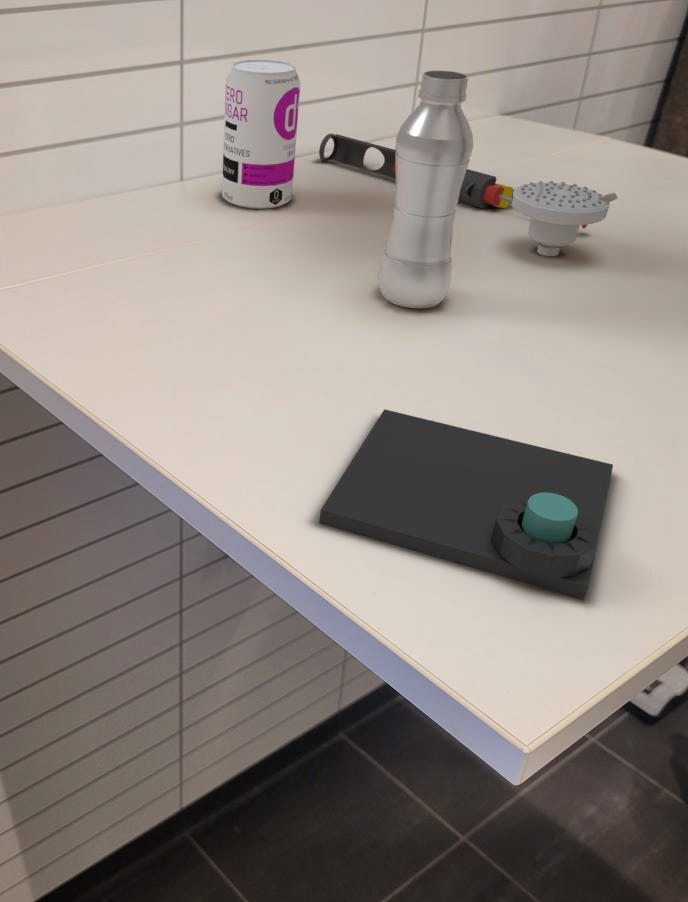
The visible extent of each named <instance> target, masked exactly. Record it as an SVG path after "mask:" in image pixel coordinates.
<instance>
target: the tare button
mask: <svg viewBox="0 0 688 902" xmlns="http://www.w3.org/2000/svg"><path fill="white" fill-rule="evenodd" d="M577 515H578V509H577V507H576V505H575V504H574V503H573V502H572V501H571V500H569V499H567V498H566V497H563V496H561V495H558V494H554V493H537V494H534V495H532V496H531V497H530V498H529V499H528V502H527V506H526V510H525V513H524V517H523V521H522V528H523V530H524V532H525V533H526V534H528V535H529V536H531V537H532V538H534V539H537V540H541V541H545V542H548V543H564V542H566V541H567V540H569V539H570V537H571V534H572V531H573V528H574V524H575V521H576V518H577Z"/></svg>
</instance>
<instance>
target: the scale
mask: <svg viewBox="0 0 688 902" xmlns="http://www.w3.org/2000/svg"><path fill="white" fill-rule="evenodd" d="M613 467H614V464H612V463H608V462H604V461H600V460H596V459H591V458H589V457H588V458H587V457H583V456H579V455H575V454H571V453H567V452H563V451H559V450H555V449H550V448H546V447H542V446H537V445H533V444H530V443H525V442H522V441H518V440H513V439H509V438H505V437H502V436H501V437H500V436H497V435H492V434H489V433H484V432H480V431H476V430H473V429H472V430H471V429H469V428H463V427H460V426H455V425H451V424H446V423H443V422H439V421H435V420H430V419H426V418H422V417H418V416H414V415H410V414H405V413H401V412H398V411H394V410H390V409H384V408H383V410H382V412H381V414H380V415H379V417H378V418H377V420H376V422H375V423H374V425H373V426H372V428H371V430H370V431H369V433H368V434H367V436H366V438H365V439H364V440H363V442H362V443H361V445H360V447H359V448H358V449H357V452H356V453H355V455H354V457H353V458H352V460H351V461H350V463H349V464H348V466H347V467H346V468H345V471H344V472H343V473H342V475H341V477H340V479H339V480H338V481H337V484H336V485H334V486H335V487H334V488H333V490H332V491H331V493H330V494H329V496H328V498H327V499H326V501H324V504H323V505H322V507H321V508H320V513H319V521H318V523H319V524H321V525H325V526H327V527H331V528H334V529H339V530H341V531H346V532H349V533H352V534H355V535H359V536H361V537H366V538H369V539H372V540H375V541H379V542H383V543H387V544H390V545H394V546H397V547H400V548H404V549H407V550H411V551H415V552H418V553H421V554H424V555H426V556H427V555H428V556H431V557H434V558H437V559H441V560H445V561H447V562H452V563H455V564H458V565H461V566H462V565H463V566H465V567H470V568H473V569H475V570H479V571H482V572H486V573H490V574H493V575H496V576H500V577H504V578H507V579H510V580H514V581H517V582H521V583H523V584H528V585H531V586H534V587H538V588H541V589H544V590H548V591H552V592H554V593H559V594H561V595H565V596H569V597H572V598H575V599H579V600H583V601H585V599H586V596H587V593H588V590H589V587H590V581H591V577H592V572H593V567H594V562H595V556H596V552H597V548H598V542H599V539H600V538H599V537H600V532H601V527H602V522H603V517H604V513H605V508H606V504H607V497H608V493H609V488H610V483H611V477H612V474H613ZM537 493H554V494H558V495H561V496H563V497H566V498H567V499H569V500H571V501H572V502H573V503H574V504H575V505H576V507H577V509H578V515H577V518H576V521H575V524H574V528H573V531H572V534H571V537H570V539H569V540H567V541H566V542H564V543H548V542H545V541H541V540H537V539H534V538H532V537H531V536H529V535H528V534H526V533H525V532H524V530H523V528H522V521H523V517H524V513H525V510H526V506H527V502H528V499H529V498H530V497H531V496H532V495H534V494H537Z"/></svg>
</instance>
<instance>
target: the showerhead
mask: <svg viewBox="0 0 688 902" xmlns="http://www.w3.org/2000/svg"><path fill="white" fill-rule="evenodd" d="M514 189H515V190H514V192H513V197H512V202H511V207H512V209H513V210H514V211H516V213H519V214H520V215H522V216H524V217H526V218H529V219H530V221H529V225H528V231H527V235H528V236H529V238H530V239H531V240H533V241H534V242H536V243H538V245H537V249H536V252H537V253H538V254H540V255H542V256H545V257H556V256H558V255H559V253H560V249H561V247H564V246H569V245H571V244H573V243H575V241H576V240H577V236H578V232H579V229H580V226H582V225H587V224H588V225H593V224H597V223H599V222H600V223H601V222H602V221H604V220H605V219H606V218H607V214H608V211H609V208H610V205H611V203H612V202H614V201H615V200H618V197H619V196H618V194H616V192H612V193H611V192H610V193H607V194H604V195H603V194H602V193H600V192H598V191H597V190H595V189H589V188H588V186H584V187H583V186H578V184H577V183H573V184H568V183H566V182H565V181H561V183H558V182H554V181H552V180H550V181H548V182H543V181H541V180H540V181H538V182H529V183H525V184H522V185H520V186H517V187H516V188H514ZM588 225H587V226H588Z"/></svg>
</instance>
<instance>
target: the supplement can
mask: <svg viewBox="0 0 688 902" xmlns="http://www.w3.org/2000/svg"><path fill="white" fill-rule="evenodd" d="M299 77H300V76H299V75H298V72H297V68H296V66H295V65H294V64H293V63H289V62H286V61H282V60H281V61H280V60H273V59H245V60H239V61H236V62H233V63H232V64H231V69H230V70H229V72H228V75H227V76H226V78H225V88H224V89H225V91H224V93H225V94H224V98H225V99H224V123H223V148H222V149H223V150H222V153H223V155H222V177H221V178H222V183H221V195H222V198H223V199H224V200H225V201H227V202H228V203H229V204H230V205H234V206H237V207H240V208H247V209H256V210H258V209H259V210H265V209H274V208H280V207H281V206H283V205H285V204H287V203H289V202H290V201H291V199H292V197H293V188H294V173H295V160H296V148H297V147H296V146H297V132H298V121H299V107H300V94H301V80H300V78H299Z"/></svg>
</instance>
